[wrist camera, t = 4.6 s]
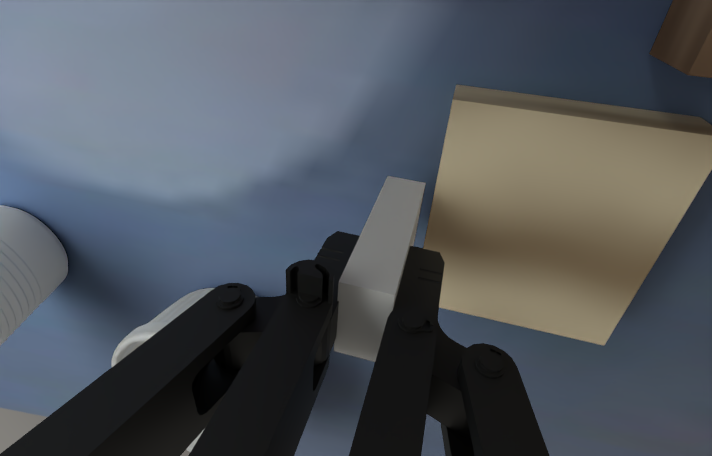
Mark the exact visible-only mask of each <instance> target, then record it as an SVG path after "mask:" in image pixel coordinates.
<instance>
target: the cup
mask: <svg viewBox="0 0 712 456" xmlns="http://www.w3.org/2000/svg"><path fill="white" fill-rule="evenodd" d="M67 274H68V258H67V254H66V252H65V249H64V247H63V246H62V244H61V242H60V241H59V240H58V238H57V237H56V236H55V234H54V233H53V232H52V231H51V230H50V229H49V228H48V227H47V226H46V225H45V224H44V223H42V222H41V221H40V220H38V219H37V218H35V217H34V216H32V215H30V214H29V213H27V212H25V211H22V210H20V209H17V208H13V207H8V206H4V205H0V345H1V344H2V343H4V342H5V341H6V340H7V338H8V337H9V336H10V335H11V334H13V333H14V330H16V329H17V328H18V327H19V326H20V325H21V323H22V322H24V321H25V320H26V319H27V317H28V316H29V315H31V314H32V313H33V311H34V310H35V309H36V308H37V307H38V306H39V305H40V304H41V303H42V302H43V301H44V300H45V299H46V298H47V297H48V296H49V295H50V294H51V293H52V292H53V291H54V290H55V289H56V288H57V287H58V286H59V285H60V284H61V283H62V281H63V280H64V279H65V278H66V276H67Z"/></svg>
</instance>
